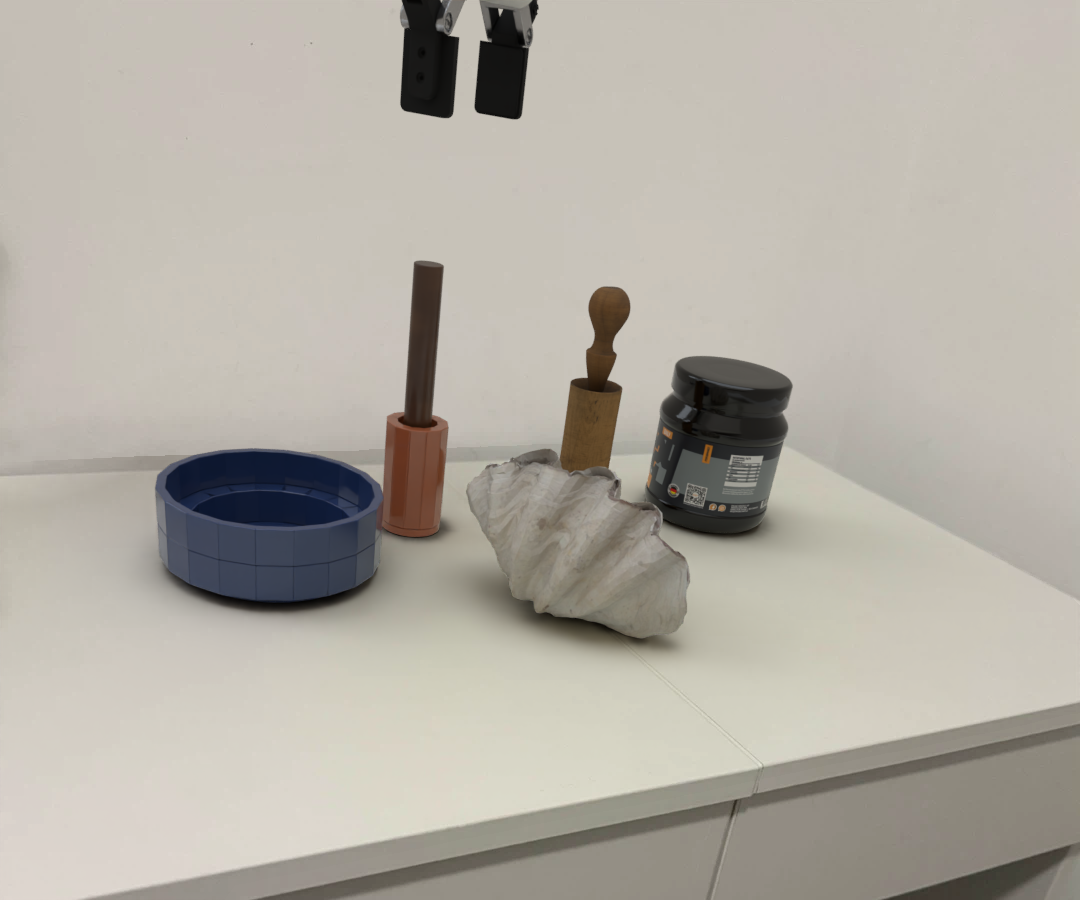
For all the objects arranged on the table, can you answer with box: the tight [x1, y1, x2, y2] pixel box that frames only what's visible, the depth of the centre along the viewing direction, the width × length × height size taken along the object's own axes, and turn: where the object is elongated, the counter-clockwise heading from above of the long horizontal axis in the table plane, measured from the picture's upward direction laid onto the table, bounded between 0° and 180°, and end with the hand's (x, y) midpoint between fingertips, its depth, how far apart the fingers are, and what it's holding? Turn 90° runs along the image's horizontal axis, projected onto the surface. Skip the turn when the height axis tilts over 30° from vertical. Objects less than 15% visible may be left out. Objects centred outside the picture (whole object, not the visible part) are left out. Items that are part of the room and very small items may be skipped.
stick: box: [403, 260, 445, 428], centre depth 75 cm, size 2×2×18 cm
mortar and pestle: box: [559, 285, 631, 473], centre depth 80 cm, size 7×6×18 cm
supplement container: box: [644, 355, 794, 535], centre depth 88 cm, size 10×10×12 cm
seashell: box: [465, 448, 691, 639], centre depth 69 cm, size 10×15×10 cm
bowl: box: [154, 447, 384, 604], centre depth 70 cm, size 14×14×6 cm
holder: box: [382, 411, 450, 538], centre depth 78 cm, size 4×4×8 cm
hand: (464, 115), depth 65 cm, fingers open, 9 cm apart
